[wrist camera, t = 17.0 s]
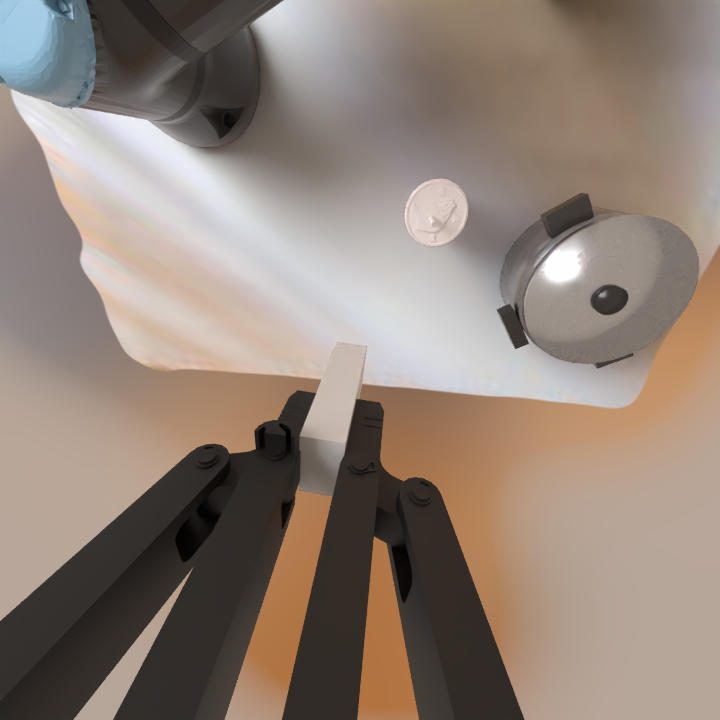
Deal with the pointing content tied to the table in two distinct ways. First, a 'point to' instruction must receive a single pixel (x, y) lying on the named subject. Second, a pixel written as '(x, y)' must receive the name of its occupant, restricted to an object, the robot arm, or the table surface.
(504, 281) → the cooker
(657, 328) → the lid
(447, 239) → the smoothie
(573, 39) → the table surface
